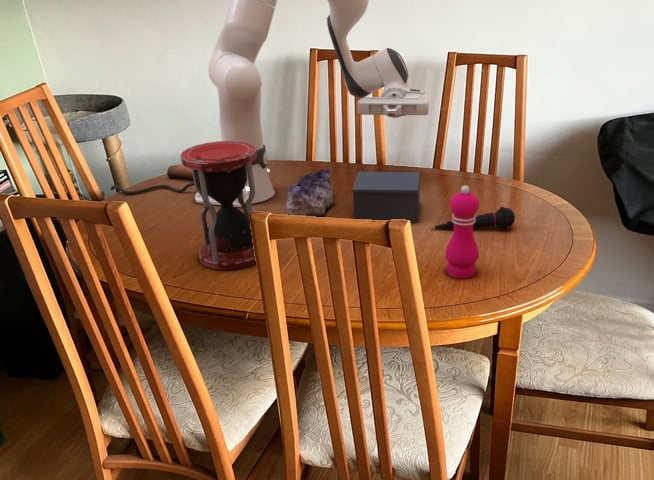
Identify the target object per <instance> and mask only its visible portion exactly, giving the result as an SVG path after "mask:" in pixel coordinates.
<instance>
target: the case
mask: <svg viewBox="0 0 654 480" xmlns="http://www.w3.org/2000/svg"><path fill="white" fill-rule="evenodd" d="M420 181H421V176H420V177H419V186H418V193H377V192H352V206H353V219H354V218H355V219H372V220H391V219H406V220H410V221H411V222H410V223H418V221H419V213H420V204H421V203H420V201H421V200H420V198H421V197H420V194H421V192H420V191H421V190H420V189H421V187H420V186H421V185H420V184H421V183H420Z"/></svg>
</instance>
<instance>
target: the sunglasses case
mask: <svg viewBox="0 0 654 480" xmlns="http://www.w3.org/2000/svg"><path fill="white" fill-rule="evenodd" d="M166 174H167V177H168V178H186V179H193V180H194V178H193V172H192V169H189V168H187V167H185V166H183V164H182V163H179V164H174V165H169V166H168V168H167V171H166Z"/></svg>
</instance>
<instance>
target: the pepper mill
mask: <svg viewBox="0 0 654 480" xmlns="http://www.w3.org/2000/svg"><path fill="white" fill-rule="evenodd" d="M470 189H471V188H470V186H468V185H466V184H465V185H462V187H461V188H460V191H459V192H457V193H455V194H453V196H452V197H451V199H450V202H449V208H450V210H451V212H452V214H451V220H452V222H453V223H454V230H453V232H452V236H451V237H450V240H449V242H448V243H447V245H446V248H445V255H444V256H445V259H446V261H447V265H446V273H447V274H448V276H450V277H452V278H455V279H469V278H472V277H473V276H474V275H476V272H477V270H476V269H477V266H476V265H477V264H476V263H477V262H478V260H479V258H480V250H479V246H478V244H477V241H476V239H475V236H474V228H473V224H474V223H475V222H476V219H475V218H476V216H477V215H476V214H477V212H478V211H479V208H480V201H479V198H478V197H477V196H476V195H475V194H474V193H473V192H471V190H470Z"/></svg>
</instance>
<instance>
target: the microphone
mask: <svg viewBox="0 0 654 480" xmlns="http://www.w3.org/2000/svg"><path fill="white" fill-rule="evenodd" d="M515 218H516V217H515V213H514V211H513V210H512V209H511V208H508V207H505V206H500V207H499V208H498V209H496V211H495V212H489V213H483V214H477V215H476V218H475V219H476V222H475V223H474V224H473V229H477V228H490V227H495V226H496V227H498V228H500V229H501V230H503V231H505V230H507V228H510V227H512V226H513V224H514V223H515V220H516V219H515ZM434 229H442V230H443V229H447V230H453V231H454V223H453V222H452V219H451V220H449V221H447V222H445V223H441V224H437V225H434Z"/></svg>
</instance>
